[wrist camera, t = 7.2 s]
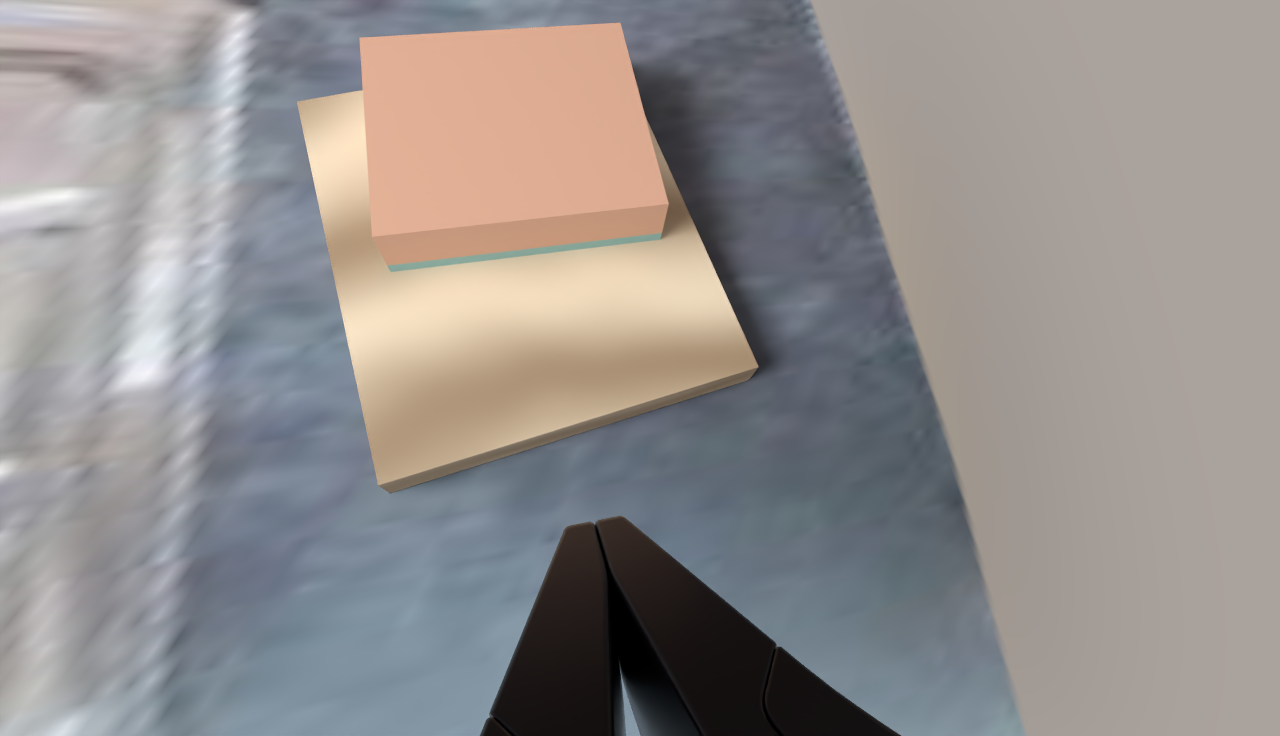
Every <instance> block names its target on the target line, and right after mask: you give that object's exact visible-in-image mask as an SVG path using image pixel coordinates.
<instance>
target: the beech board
mask: <svg viewBox="0 0 1280 736" xmlns="http://www.w3.org/2000/svg"><path fill="white" fill-rule="evenodd" d="M297 104H298V109H299V114H300V118H301V123H302V128H303V132H304V137H305V142H306V147H307V151H308V156H309V161H310V165H311V170H312V175H313V180H314V184H315V189H316V194H317V198H318V203H319V208H320V213H321V217H322V222H323V227H324V232H325V236H326V241H327V246H328V250H329V255H330V260H331V265H332V269H333V274H334V279H335V283H336V288H337V293H338V298H339V302H340V307H341V312H342V316H343V321H344V326H345V331H346V335H347V340H348V345H349V350H350V354H351V359H352V364H353V368H354V373H355V378H356V383H357V387H358V392H359V397H360V401H361V406H362V411H363V416H364V420H365V425H366V430H367V434H368V439H369V444H370V449H371V453H372V458H373V463H374V467H375V472H376V477H377V482H378V486H380V487H381V488H383V489H384V490H386V491H387V492H389V493H392V492H396V491H399V490H402V489H405V488H408V487H411V486H415V485H418V484H421V483H424V482H427V481H430V480H434V479H437V478H440V477H443V476H446V475H449V474H453V473H456V472H459V471H462V470H465V469H468V468H472V467H475V466H478V465H481V464H484V463H487V462H491V461H494V460H497V459H500V458H503V457H507V456H510V455H513V454H516V453H519V452H522V451H526V450H529V449H532V448H535V447H538V446H541V445H545V444H548V443H551V442H554V441H557V440H560V439H564V438H567V437H570V436H573V435H576V434H579V433H583V432H586V431H589V430H592V429H595V428H598V427H602V426H605V425H608V424H611V423H614V422H617V421H621V420H624V419H627V418H630V417H633V416H637V415H640V414H643V413H646V412H649V411H652V410H656V409H659V408H662V407H665V406H668V405H671V404H675V403H678V402H681V401H684V400H687V399H690V398H694V397H697V396H700V395H703V394H706V393H709V392H713V391H716V390H719V389H722V388H725V387H728V386H732V385H735V384H738V383H741V382H744V381H748V380H749V379H750V378H751V377H752V375H753V374H754V373H755V371H756V370H757V369H758V364H757V362H756V360H755V358H754V355H753V353H752V351H751V349H750V347H749V344H748V342H747V340H746V338H745V336H744V333H743V331H742V329H741V327H740V324H739V322H738V320H737V318H736V316H735V313H734V311H733V309H732V307H731V305H730V302H729V300H728V298H727V296H726V293H725V291H724V289H723V287H722V285H721V282H720V280H719V278H718V276H717V274H716V271H715V269H714V267H713V265H712V263H711V260H710V258H709V256H708V254H707V251H706V249H705V247H704V245H703V243H702V240H701V238H700V236H699V234H698V232H697V229H696V227H695V225H694V223H693V220H692V218H691V216H690V214H689V212H688V209H687V207H686V205H685V203H684V201H683V198H682V196H681V194H680V192H679V189H678V187H677V185H676V183H675V181H674V178H673V176H672V174H671V172H670V170H669V167H668V165H667V163H666V161H665V158H664V156H663V154H662V152H661V150H660V147H659V145H658V143H657V141H656V139H655V136H654V134H653V132H652V130H651V127H650V125H649V123H648V121H647V119H646V121H647V125H648V128H649V132H650V136H651V140H652V143H653V147H654V151H655V154H656V158H657V162H658V166H659V169H660V173H661V177H662V181H663V184H664V188H665V192H666V196H667V199H668V203H669V205H668V209H667V213H666V218H665V222H664V226H663V230H662V235H661V239H660V240H652V241H644V242H636V243H628V244H619V245H611V246H603V247H594V248H586V249H578V250H570V251H561V252H553V253H545V254H536V255H528V256H520V257H512V258H503V259H495V260H487V261H479V262H470V263H462V264H454V265H445V266H437V267H429V268H421V269H412V270H404V271H396V272H390V270H389V268H388V266H387V264H386V262H385V261H384V259H383V257H382V255H381V253H380V251H379V249H378V247H377V245H376V244H375V242H374V240H373V238H372V230H371V214H370V197H369V181H368V165H367V149H366V133H365V116H364V100H363V90H361V91H355V92H350V93H344V94H338V95H332V96H327V97H321V98H315V99H310V100H304V101H298V102H297ZM645 117H646V116H645Z"/></svg>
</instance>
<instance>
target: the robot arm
mask: <svg viewBox="0 0 1280 736" xmlns="http://www.w3.org/2000/svg"><path fill="white" fill-rule="evenodd" d="M620 670H621V674H620ZM621 675H622V679H623V682H624V686H625V689H626V692H627V696H628V699H629V702H630V705H631V708H632V711H633V714H634V717H635V720H636V723H637V726H638V729H639V732H640V735H641V736H901V735H899V734H898V733H896V732H895V731H893V730H892V729H890V728H889V727H887V726H886V725H884V724H883V723H881V722H880V721H878V720H877V719H875V718H874V717H872V716H871V715H870V714H868V713H867V712H865V711H864V710H862V709H861V708H860V707H858V706H857V705H855V704H854V703H852V702H851V701H850V700H848V699H847V698H845V697H844V696H843V695H841V694H840V693H838V692H837V691H835V690H834V689H833V688H832V687H830V686H829V685H828V684H827V683H825V682H824V681H823V680H821V679H820V678H819V677H818V676H816V675H815V674H814V673H812V672H811V671H810V670H809V669H807V668H806V667H805V666H804V665H802V664H801V663H800V662H799V661H797V660H796V659H795V658H794V657H793V656H791V655H790V654H789V653H788V652H787V651H785V650H784V649H783V648H782V647H777V645H776V643H775V642H774V641H773V640H772V639H771V638H769V637H768V636H767V635H766V634H765V633H763V632H762V631H761V630H760V629H759V628H757V627H756V626H755V625H754V624H753V623H751V622H750V621H749V620H748V619H746V618H745V617H744V616H743V615H742V614H740V613H739V612H738V611H737V610H736V609H734V608H733V607H732V606H731V605H730V604H728V603H727V602H726V601H725V600H724V599H722V598H721V597H720V596H719V595H718V594H716V593H715V592H714V591H713V590H712V589H710V588H709V587H708V586H707V585H706V584H704V583H703V582H702V581H701V580H699V579H698V578H697V577H696V576H695V575H693V574H692V573H691V572H690V571H689V570H687V569H686V568H685V567H684V566H683V565H681V564H680V563H679V562H678V561H677V560H675V559H674V558H673V557H672V556H671V555H669V554H668V553H667V552H666V551H665V550H663V549H662V548H661V547H660V546H658V545H657V544H656V543H655V542H654V541H652V540H651V539H650V538H649V537H648V536H646V535H645V534H644V533H643V532H642V531H640V530H639V529H638V528H637V527H636V526H634V525H633V524H632V523H631V522H630V521H628V520H627V519H626V518H625V517H622V516H617V517H611V518H606V519H601V520H598V521H597V522H596V524H595V525H594V524H593V523H592V522H586V523H581V524H576V525H571V526H568V527H566V528H565V530H564V532H563V534H562V537H561V539H560V542H559V544H558V546H557V549H556V551H555V554H554V556H553V559H552V561H551V564H550V566H549V568H548V571H547V573H546V576H545V578H544V581H543V583H542V586H541V588H540V591H539V593H538V595H537V598H536V600H535V603H534V605H533V608H532V610H531V613H530V615H529V617H528V620H527V622H526V625H525V627H524V630H523V632H522V635H521V637H520V640H519V642H518V644H517V647H516V649H515V652H514V654H513V657H512V659H511V662H510V664H509V667H508V669H507V671H506V674H505V676H504V679H503V681H502V684H501V686H500V689H499V691H498V693H497V696H496V698H495V701H494V703H493V706H492V708H491V711H490V714H489V715H490V718H488V719H487V720H486V722H485V725H484V727H483V729H482V732H481V734H480V736H626V729H625V716H624V703H623V692H622V683H621Z"/></svg>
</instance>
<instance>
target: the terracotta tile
mask: <svg viewBox="0 0 1280 736" xmlns="http://www.w3.org/2000/svg"><path fill="white" fill-rule="evenodd" d="M360 52H361V68H362V84H363V100H364V116H365V133H366V149H367V165H368V181H369V197H370V214H371V230H372V238H373V240H374V242H375V244H376V245H377V247H378V249H379V251H380V253H381V255H382V257H383V259H384V261H385V262H386V264H387V266H388V268H389V270H390V272H396V271H404V270H412V269H421V268H429V267H437V266H445V265H454V264H462V263H470V262H479V261H487V260H495V259H503V258H512V257H520V256H528V255H536V254H545V253H553V252H561V251H570V250H578V249H586V248H594V247H603V246H611V245H619V244H628V243H636V242H644V241H652V240H660V239H661V235H662V230H663V226H664V222H665V218H666V213H667V209H668V205H669V203H668V199H667V196H666V192H665V188H664V184H663V181H662V177H661V173H660V169H659V166H658V162H657V158H656V154H655V151H654V147H653V143H652V140H651V136H650V132H649V128H648V125H647V121H646V117H645V113H644V110H643V106H642V102H641V98H640V95H639V91H638V87H637V84H636V80H635V76H634V72H633V69H632V65H631V61H630V57H629V54H628V50H627V46H626V43H625V39H624V35H623V31H622V28H621V24H620V23H608V24H590V25H573V26H556V27H538V28H521V29H504V30H486V31H469V32H452V33H434V34H417V35H400V36H382V37H365V38H360Z"/></svg>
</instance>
